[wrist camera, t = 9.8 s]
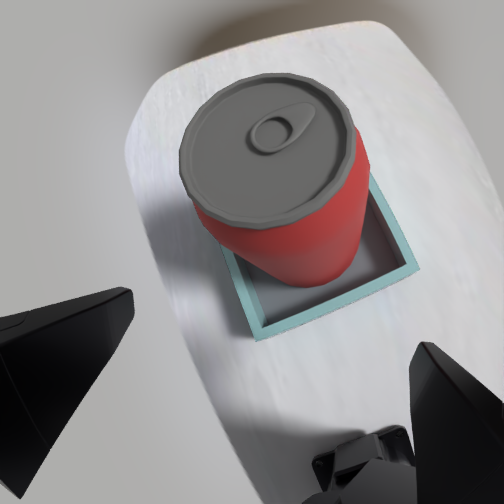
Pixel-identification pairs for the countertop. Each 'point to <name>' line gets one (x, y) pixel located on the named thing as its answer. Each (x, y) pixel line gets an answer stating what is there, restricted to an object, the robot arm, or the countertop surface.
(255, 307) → the tray
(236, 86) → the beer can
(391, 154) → the countertop surface
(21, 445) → the robot arm
